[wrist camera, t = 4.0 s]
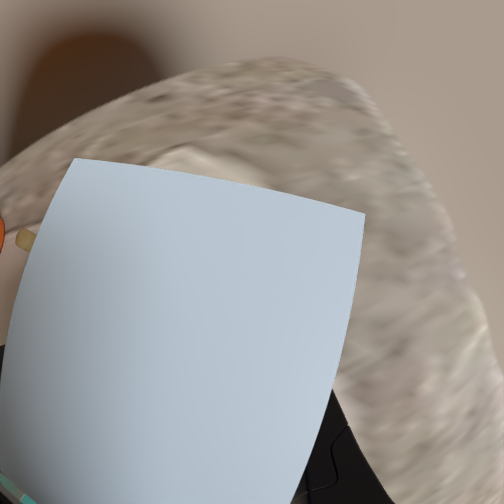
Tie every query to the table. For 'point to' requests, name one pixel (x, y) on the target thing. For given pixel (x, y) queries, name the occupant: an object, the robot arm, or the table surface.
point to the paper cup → (1, 233)
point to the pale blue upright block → (174, 339)
